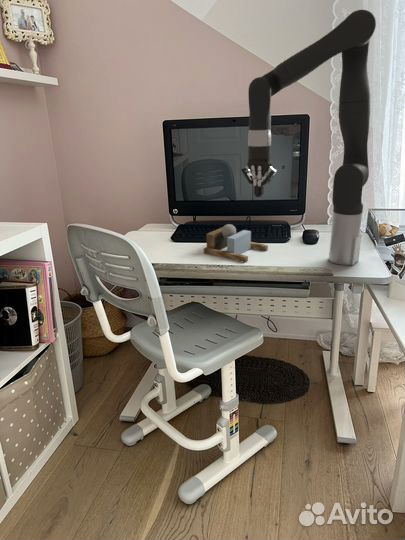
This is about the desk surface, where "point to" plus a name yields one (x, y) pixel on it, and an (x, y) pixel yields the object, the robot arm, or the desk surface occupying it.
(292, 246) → the desk surface
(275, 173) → the robot arm
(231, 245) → the slide jaw
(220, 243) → the vise frame
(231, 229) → the light bulb
